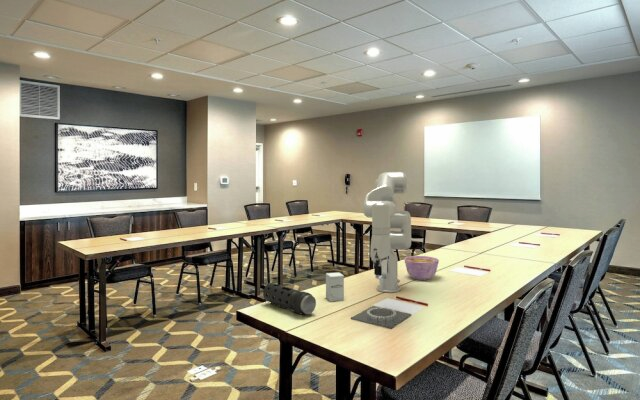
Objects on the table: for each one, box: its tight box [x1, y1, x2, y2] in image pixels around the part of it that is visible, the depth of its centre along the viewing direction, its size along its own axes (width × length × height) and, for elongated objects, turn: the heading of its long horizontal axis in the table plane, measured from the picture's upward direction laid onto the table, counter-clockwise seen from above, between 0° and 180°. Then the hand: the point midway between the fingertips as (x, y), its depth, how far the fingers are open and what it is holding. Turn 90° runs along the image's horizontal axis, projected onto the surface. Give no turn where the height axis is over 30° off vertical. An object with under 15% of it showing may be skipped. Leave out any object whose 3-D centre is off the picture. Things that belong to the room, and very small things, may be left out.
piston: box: [374, 258, 387, 280], centre depth 166 cm, size 5×5×8 cm
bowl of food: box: [404, 255, 440, 281], centre depth 230 cm, size 20×20×12 cm
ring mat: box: [350, 305, 412, 330], centre depth 167 cm, size 19×19×2 cm
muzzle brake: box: [262, 282, 317, 316], centre depth 178 cm, size 10×28×10 cm, turn 44°
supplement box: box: [325, 272, 345, 303], centre depth 193 cm, size 7×7×13 cm
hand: (381, 273), depth 166 cm, fingers closed on piston, 5 cm apart
